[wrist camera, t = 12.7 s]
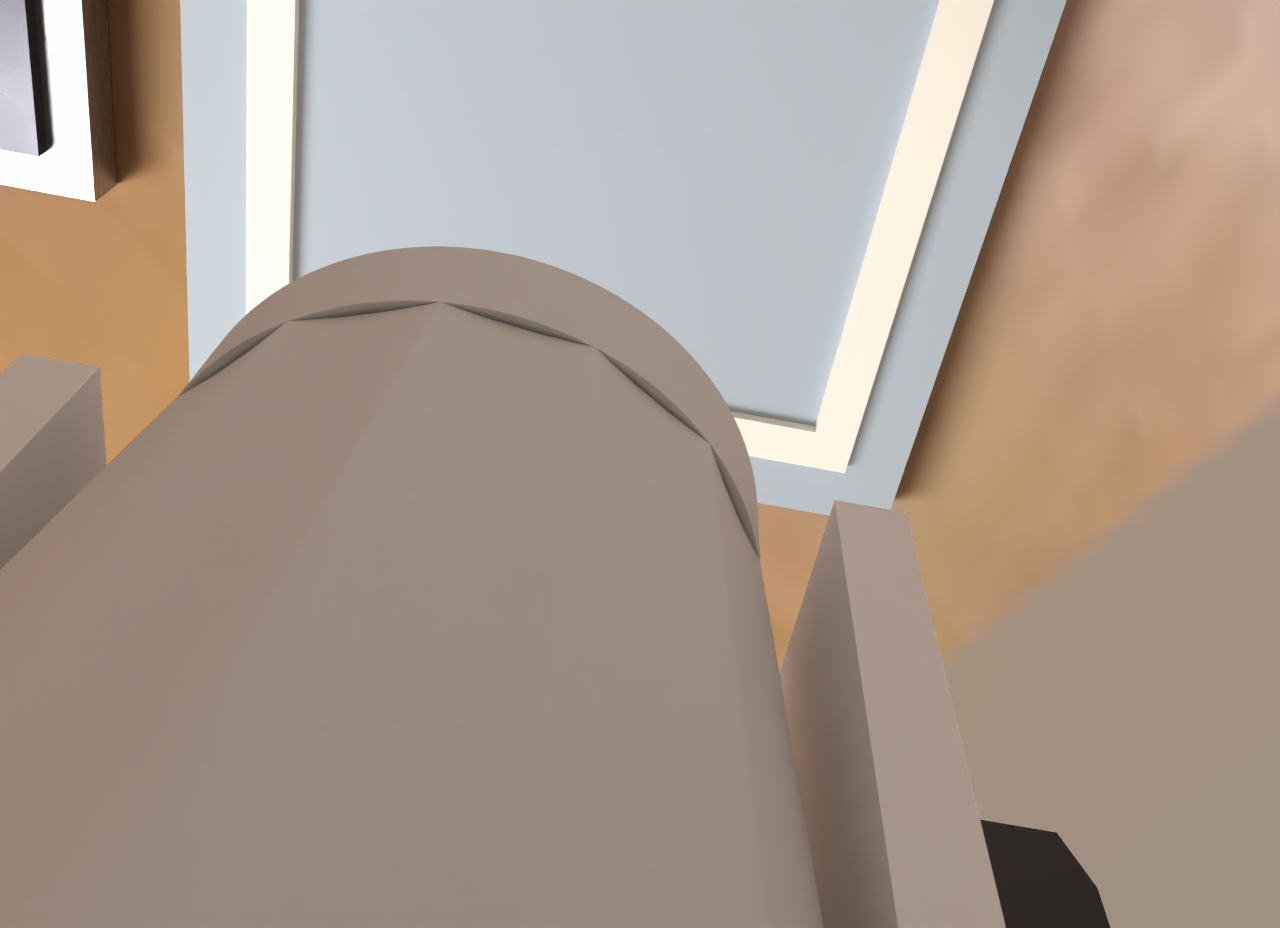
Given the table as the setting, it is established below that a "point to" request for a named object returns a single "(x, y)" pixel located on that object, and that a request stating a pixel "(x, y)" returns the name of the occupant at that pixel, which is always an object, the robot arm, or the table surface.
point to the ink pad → (56, 98)
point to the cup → (408, 632)
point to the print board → (637, 179)
